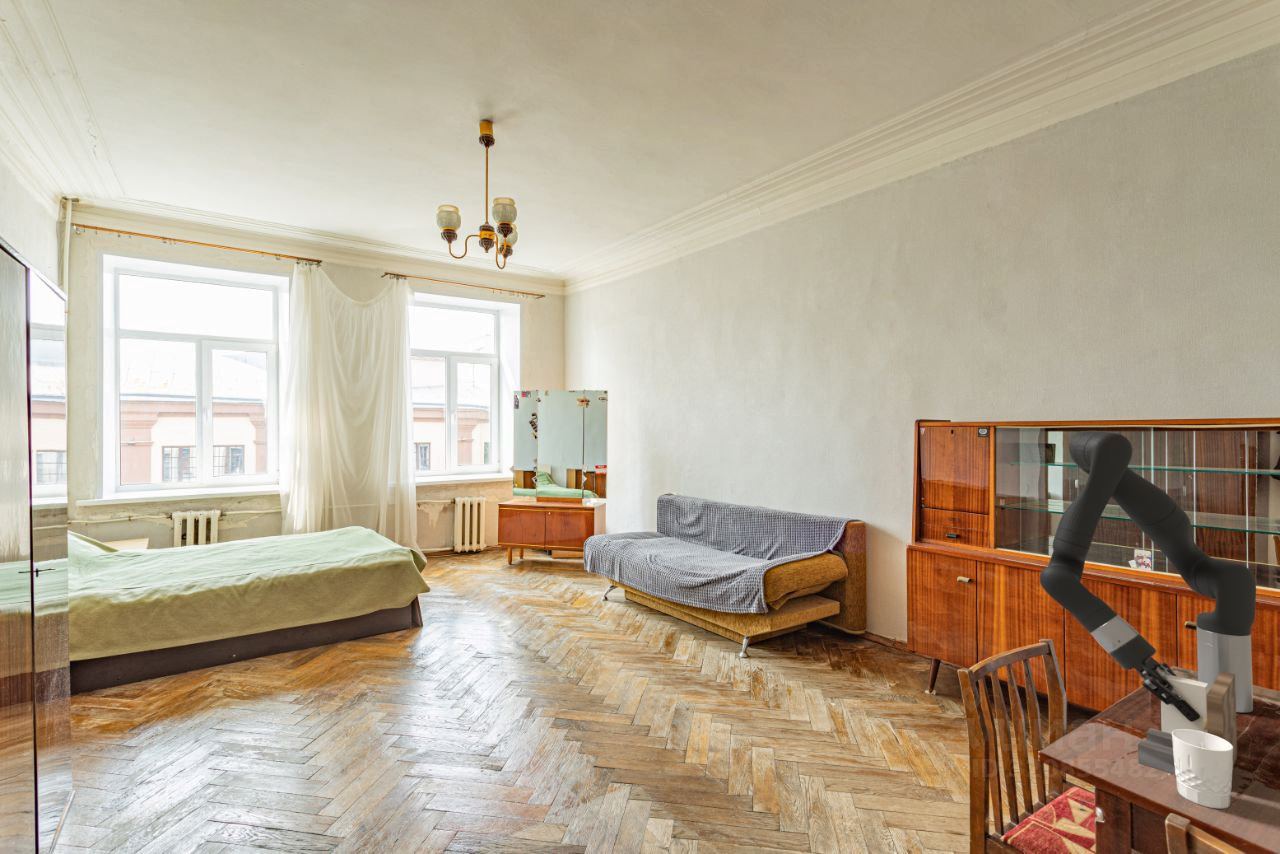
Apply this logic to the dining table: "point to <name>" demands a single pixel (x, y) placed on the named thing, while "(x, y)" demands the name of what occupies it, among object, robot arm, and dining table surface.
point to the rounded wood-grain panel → (1217, 723)
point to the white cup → (1203, 767)
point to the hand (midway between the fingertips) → (1197, 716)
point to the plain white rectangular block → (1194, 697)
